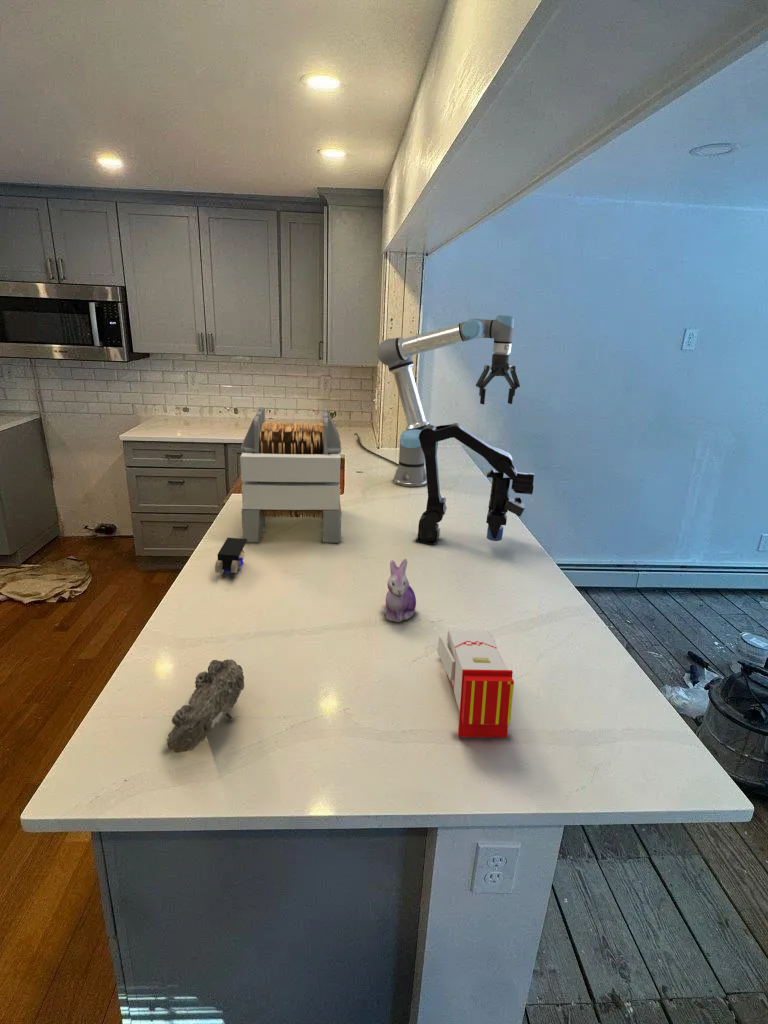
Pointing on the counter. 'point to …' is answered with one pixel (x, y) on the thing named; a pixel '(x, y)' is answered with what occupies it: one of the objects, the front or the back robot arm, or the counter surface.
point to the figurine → (399, 594)
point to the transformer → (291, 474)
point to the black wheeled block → (230, 556)
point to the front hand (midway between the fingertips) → (494, 535)
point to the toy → (478, 682)
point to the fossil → (206, 705)
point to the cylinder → (499, 535)
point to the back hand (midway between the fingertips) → (496, 403)
